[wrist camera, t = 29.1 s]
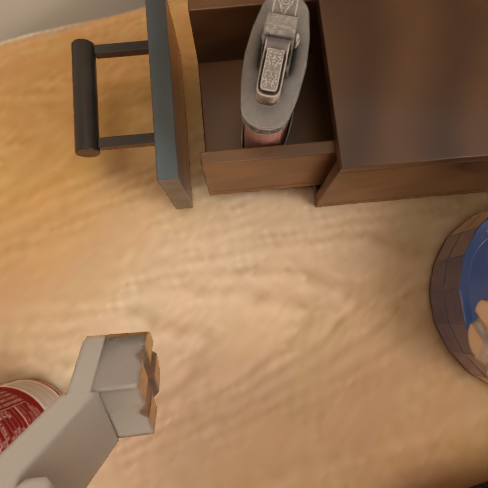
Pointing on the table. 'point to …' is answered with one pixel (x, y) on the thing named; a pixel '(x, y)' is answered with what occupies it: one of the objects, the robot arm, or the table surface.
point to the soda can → (22, 406)
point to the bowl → (461, 288)
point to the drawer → (210, 104)
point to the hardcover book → (481, 485)
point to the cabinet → (405, 98)
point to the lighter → (273, 72)
